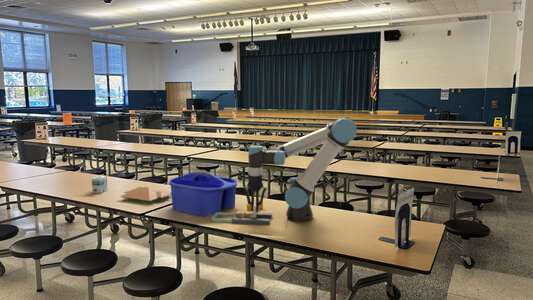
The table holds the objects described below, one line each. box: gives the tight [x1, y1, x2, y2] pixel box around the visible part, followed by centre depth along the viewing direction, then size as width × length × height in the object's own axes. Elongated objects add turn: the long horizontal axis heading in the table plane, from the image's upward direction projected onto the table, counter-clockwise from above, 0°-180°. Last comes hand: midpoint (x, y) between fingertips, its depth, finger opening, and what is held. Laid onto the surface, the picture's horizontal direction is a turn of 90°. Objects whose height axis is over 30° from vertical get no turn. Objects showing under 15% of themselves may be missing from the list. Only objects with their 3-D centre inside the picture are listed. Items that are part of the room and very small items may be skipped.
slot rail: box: [231, 211, 273, 226], centre depth 204 cm, size 20×13×4 cm, turn 82°
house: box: [119, 186, 172, 205], centre depth 253 cm, size 23×33×8 cm
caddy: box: [168, 170, 238, 217], centre depth 230 cm, size 32×45×23 cm
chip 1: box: [236, 210, 246, 218], centre depth 205 cm, size 4×4×4 cm
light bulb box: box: [91, 175, 108, 194], centre depth 270 cm, size 11×7×11 cm, turn 179°
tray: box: [210, 211, 237, 223], centre depth 207 cm, size 12×12×3 cm
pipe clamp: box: [246, 199, 264, 213], centre depth 221 cm, size 12×4×6 cm, turn 144°
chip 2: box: [245, 210, 253, 218], centre depth 204 cm, size 4×4×4 cm
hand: (254, 216), depth 204 cm, fingers closed
